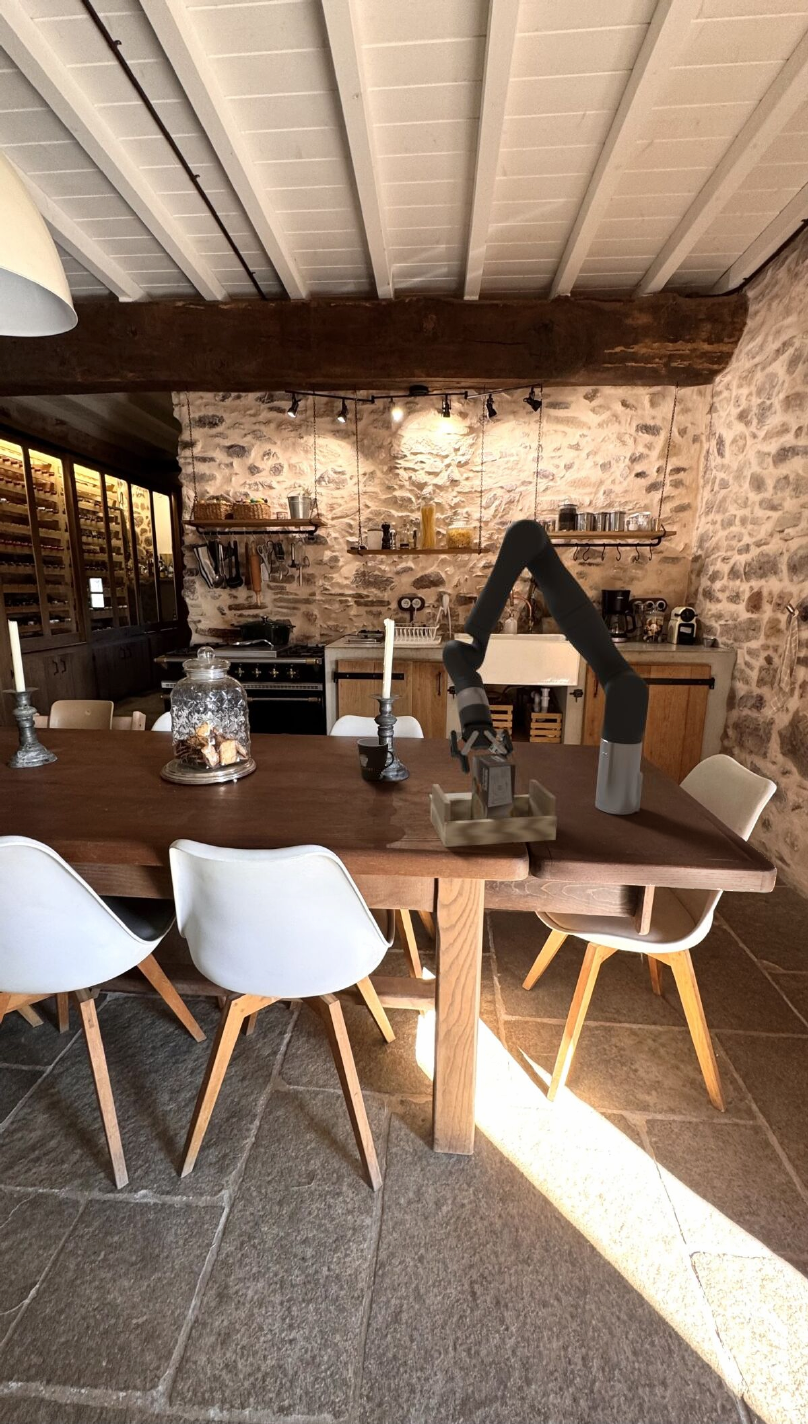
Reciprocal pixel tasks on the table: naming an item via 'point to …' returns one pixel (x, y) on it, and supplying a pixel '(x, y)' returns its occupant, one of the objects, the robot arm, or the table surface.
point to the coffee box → (492, 787)
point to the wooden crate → (529, 826)
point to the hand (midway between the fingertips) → (486, 772)
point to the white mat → (457, 795)
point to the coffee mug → (373, 758)
